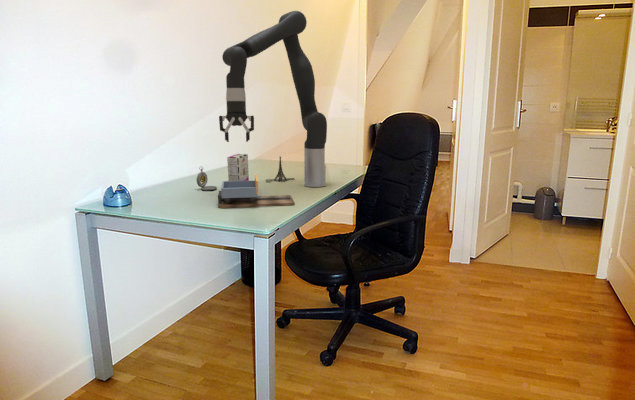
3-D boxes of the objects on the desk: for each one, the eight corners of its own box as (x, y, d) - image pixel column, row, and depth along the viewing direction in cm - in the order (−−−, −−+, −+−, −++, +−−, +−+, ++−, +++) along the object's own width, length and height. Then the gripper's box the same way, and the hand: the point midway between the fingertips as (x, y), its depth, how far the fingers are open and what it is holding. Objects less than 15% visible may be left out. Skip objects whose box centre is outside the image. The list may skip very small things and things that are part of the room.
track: (290, 197, 182) (290, 187, 181) (294, 205, 168) (294, 194, 168) (219, 199, 177) (219, 189, 177) (218, 207, 164) (217, 197, 163)
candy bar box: (238, 191, 193) (237, 153, 190) (249, 192, 192) (248, 153, 189) (228, 197, 182) (226, 156, 179) (240, 197, 182) (238, 157, 178)
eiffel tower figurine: (294, 179, 226) (294, 152, 223) (297, 182, 217) (297, 155, 214) (264, 180, 223) (263, 153, 220) (266, 183, 214) (265, 155, 211)
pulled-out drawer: (257, 195, 180) (256, 174, 178) (258, 203, 165) (257, 180, 164) (223, 196, 178) (222, 175, 176) (221, 204, 163) (220, 181, 162)
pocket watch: (216, 191, 194) (215, 168, 192) (196, 191, 193) (195, 168, 191) (217, 187, 202) (216, 165, 200) (198, 188, 201) (196, 165, 199)
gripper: (254, 100, 184) (255, 140, 187) (218, 99, 181) (219, 141, 185) (254, 100, 177) (255, 142, 180) (217, 99, 174) (218, 142, 178)
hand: (237, 141), depth 183 cm, fingers open, 7 cm apart
